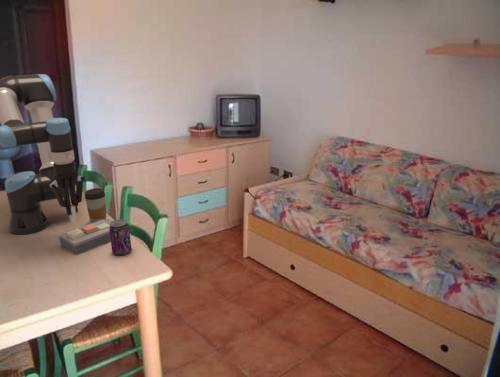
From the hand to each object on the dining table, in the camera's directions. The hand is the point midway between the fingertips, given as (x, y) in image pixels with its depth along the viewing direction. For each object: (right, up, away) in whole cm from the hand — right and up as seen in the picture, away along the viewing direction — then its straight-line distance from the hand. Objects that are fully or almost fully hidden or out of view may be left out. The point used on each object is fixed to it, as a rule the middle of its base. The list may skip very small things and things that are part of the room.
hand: (73, 221), depth 167 cm
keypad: (+4, -8, +8) cm, 12 cm away
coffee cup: (+1, -3, +24) cm, 24 cm away
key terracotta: (+4, -5, +7) cm, 9 cm away
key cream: (0, -7, +3) cm, 7 cm away
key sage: (+8, -5, +11) cm, 15 cm away
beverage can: (+18, -11, -1) cm, 22 cm away
